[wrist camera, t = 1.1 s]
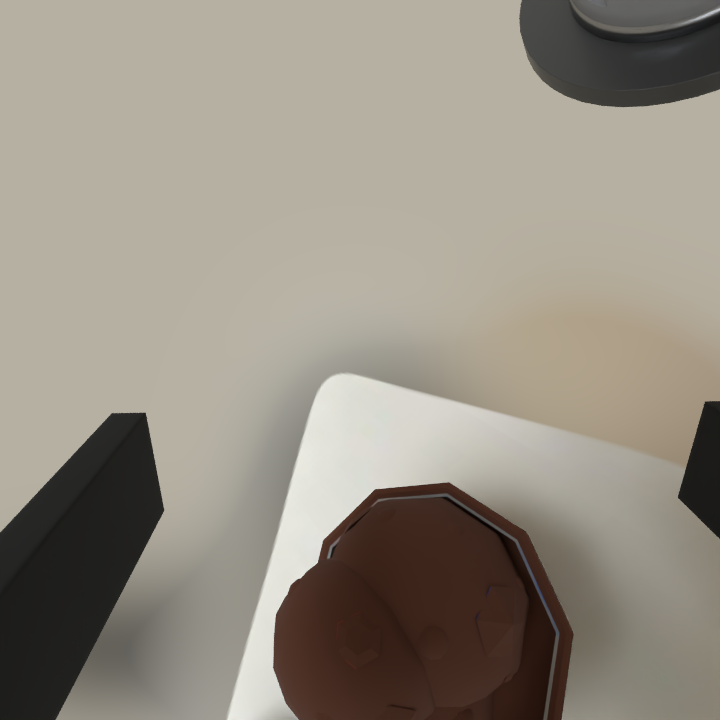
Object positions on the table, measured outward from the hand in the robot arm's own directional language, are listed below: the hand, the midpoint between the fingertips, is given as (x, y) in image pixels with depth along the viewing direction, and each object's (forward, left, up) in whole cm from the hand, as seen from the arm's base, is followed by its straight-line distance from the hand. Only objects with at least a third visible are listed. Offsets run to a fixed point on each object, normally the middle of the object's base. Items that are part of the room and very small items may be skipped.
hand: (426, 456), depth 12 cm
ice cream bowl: (+6, -2, -18) cm, 19 cm away
